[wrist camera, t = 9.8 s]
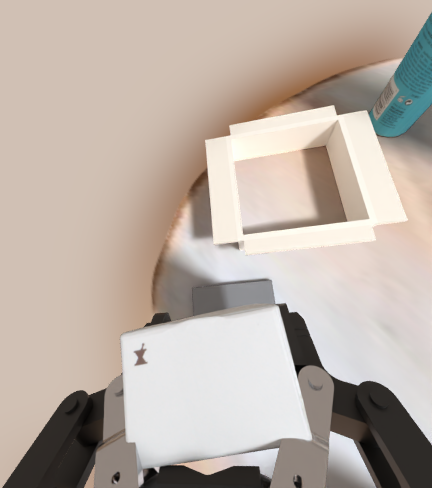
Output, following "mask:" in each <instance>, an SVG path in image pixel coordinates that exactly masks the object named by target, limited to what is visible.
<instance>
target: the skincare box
mask: <svg viewBox="0 0 432 488" xmlns="http://www.w3.org/2000/svg"><path fill="white" fill-rule="evenodd" d="M120 344H121V357H122V372H123V390H124V411H125V433H126V442H128V443H129V442H135V443H136V447H137V450H138V454H139V458H140V462H141V465H142V469H146V468H153V467H160V466H167V465H174V464H180V463H187V462H193V461H199V460H206V459H212V458H218V457H224V456H230V455H236V454H242V453H249V452H255V451H261V450H267V449H274V448H279V447H280V443H281V439H282V438H298V439H305V440H312V435H311V431H310V427H309V423H308V419H307V415H306V411H305V407H304V403H303V399H302V395H301V391H300V387H299V383H298V379H297V375H296V371H295V367H294V363H293V359H292V355H291V351H290V347H289V344H288V340H287V336H286V332H285V328H284V324H283V321H282V317H281V313H280V309H279V306H277V305H275V304H251V305H245V306H239V307H234V308H229V309H224V310H220V311H215V312H210V313H206V314H201V315H197V316H192V317H188V318H183V319H180V320H175V321H171V322H166V323H162V324H157V325H152V326H148V327H143V328H139V329H136V330H132V331H128V332H125V333H123V334H121V336H120Z"/></svg>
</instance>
